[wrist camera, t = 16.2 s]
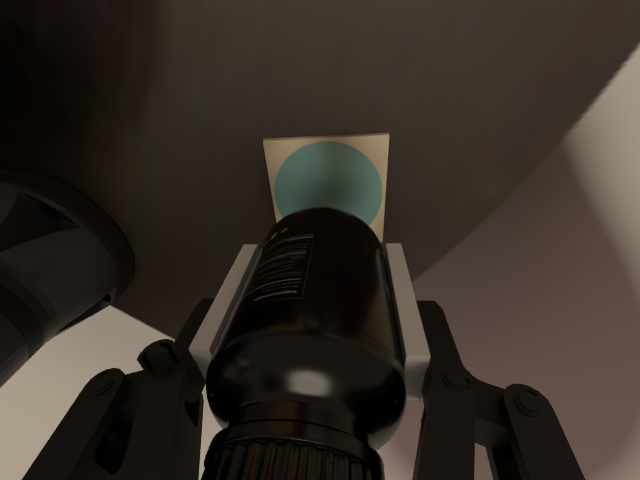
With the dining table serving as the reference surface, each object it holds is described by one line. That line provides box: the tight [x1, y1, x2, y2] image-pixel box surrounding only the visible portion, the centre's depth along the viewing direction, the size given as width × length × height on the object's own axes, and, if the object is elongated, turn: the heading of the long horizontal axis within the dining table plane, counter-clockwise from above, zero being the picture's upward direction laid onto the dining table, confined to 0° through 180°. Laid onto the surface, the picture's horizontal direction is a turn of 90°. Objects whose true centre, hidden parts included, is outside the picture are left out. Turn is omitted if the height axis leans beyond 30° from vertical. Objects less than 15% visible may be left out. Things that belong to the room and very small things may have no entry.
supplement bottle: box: [201, 206, 407, 480], centre depth 12 cm, size 7×7×12 cm
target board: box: [263, 133, 389, 242], centre depth 23 cm, size 9×9×1 cm
